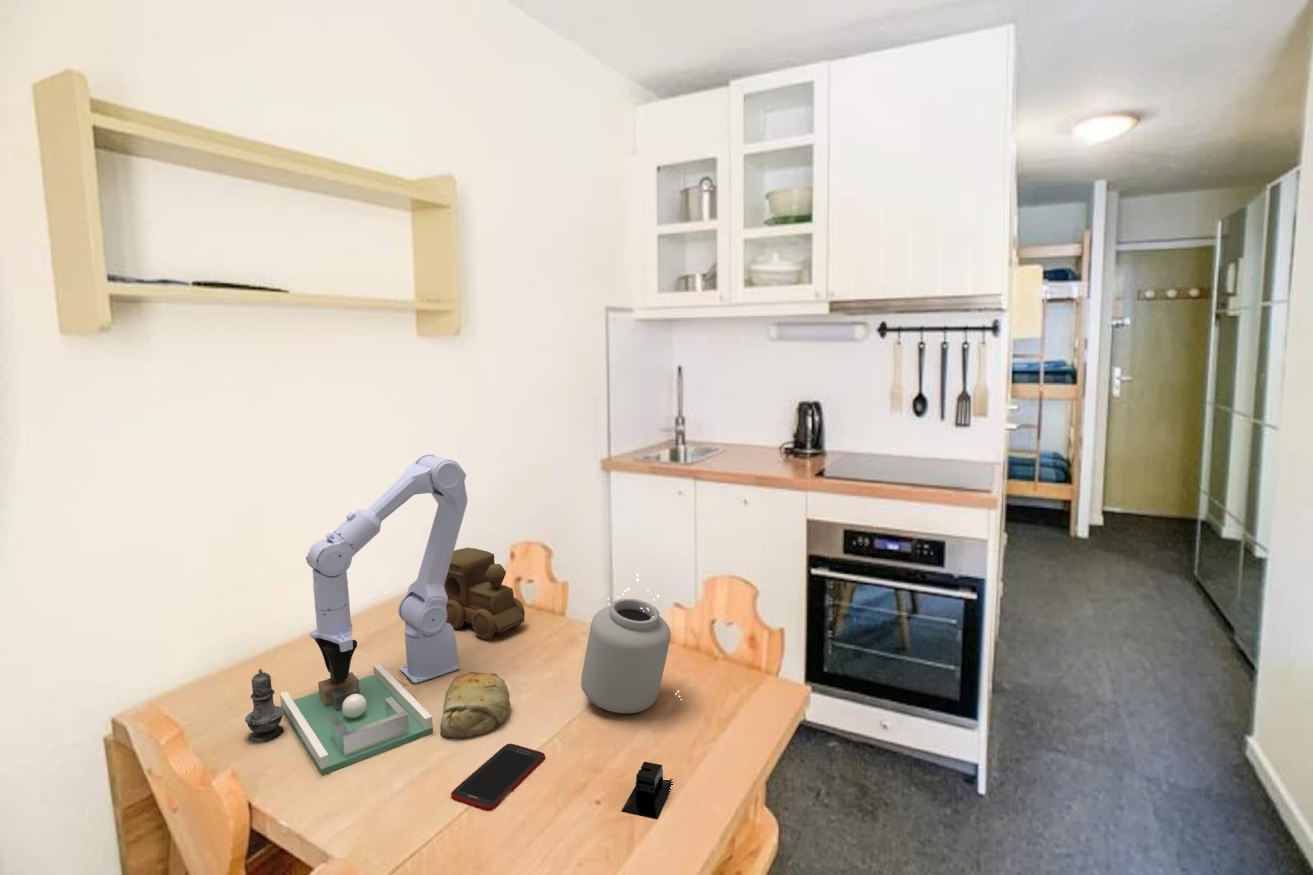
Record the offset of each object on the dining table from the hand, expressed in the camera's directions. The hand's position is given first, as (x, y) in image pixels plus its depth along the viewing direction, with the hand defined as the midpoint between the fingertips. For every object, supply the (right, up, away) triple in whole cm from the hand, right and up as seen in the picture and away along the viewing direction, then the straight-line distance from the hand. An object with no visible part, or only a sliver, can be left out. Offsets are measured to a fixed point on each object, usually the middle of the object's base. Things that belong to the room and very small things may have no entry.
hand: (338, 674), depth 131 cm
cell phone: (+35, -9, -22) cm, 42 cm away
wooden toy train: (+18, -1, +34) cm, 39 cm away
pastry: (+27, -6, -5) cm, 28 cm away
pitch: (+6, -6, -6) cm, 10 cm away
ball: (+6, -3, -6) cm, 9 cm away
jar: (+55, -5, 0) cm, 55 cm away
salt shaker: (-8, -7, -10) cm, 14 cm away
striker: (+1, -4, -1) cm, 4 cm away
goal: (+11, -6, -12) cm, 17 cm away
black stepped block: (+58, -10, -26) cm, 65 cm away
